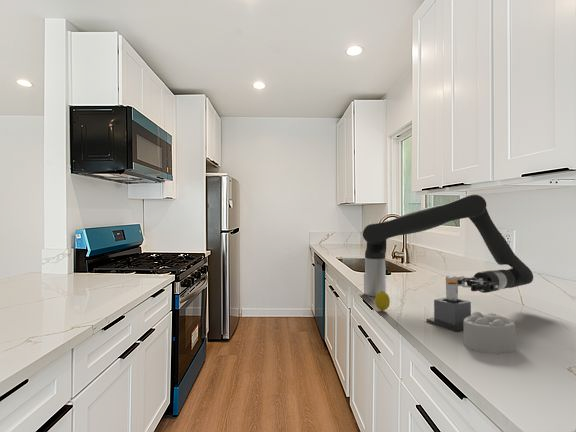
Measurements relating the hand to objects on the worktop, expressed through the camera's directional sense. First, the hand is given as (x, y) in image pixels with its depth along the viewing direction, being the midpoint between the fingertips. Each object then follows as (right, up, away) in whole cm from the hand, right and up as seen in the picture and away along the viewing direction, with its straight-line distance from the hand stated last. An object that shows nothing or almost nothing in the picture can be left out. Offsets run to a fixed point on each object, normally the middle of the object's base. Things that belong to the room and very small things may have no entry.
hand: (460, 285), depth 116 cm
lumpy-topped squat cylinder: (-3, -13, -21) cm, 25 cm away
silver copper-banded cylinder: (-4, -11, -2) cm, 11 cm away
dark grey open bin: (-4, -13, -2) cm, 13 cm away
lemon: (-23, -13, +14) cm, 30 cm away
